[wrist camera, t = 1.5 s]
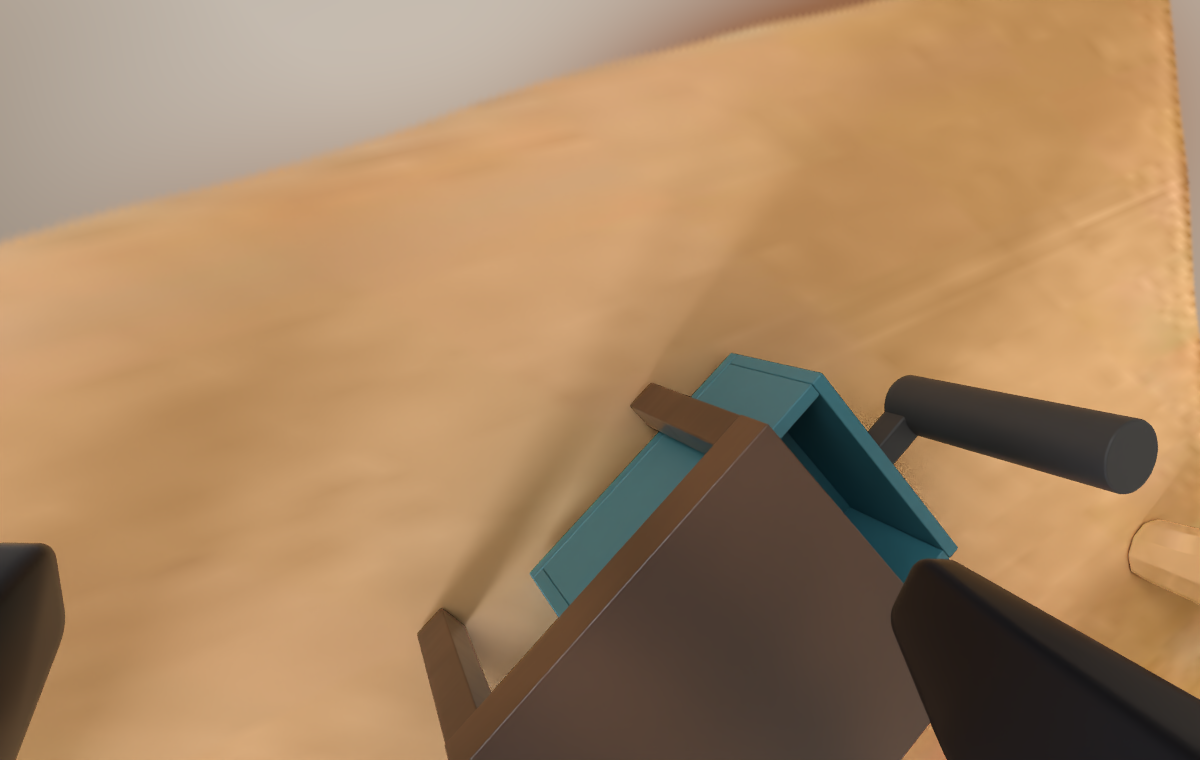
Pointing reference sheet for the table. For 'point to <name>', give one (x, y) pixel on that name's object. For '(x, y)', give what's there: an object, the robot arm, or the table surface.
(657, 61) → the table surface
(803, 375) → the drawer
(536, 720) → the brown drawer cabinet
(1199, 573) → the milkshake
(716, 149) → the table surface
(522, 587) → the table surface
